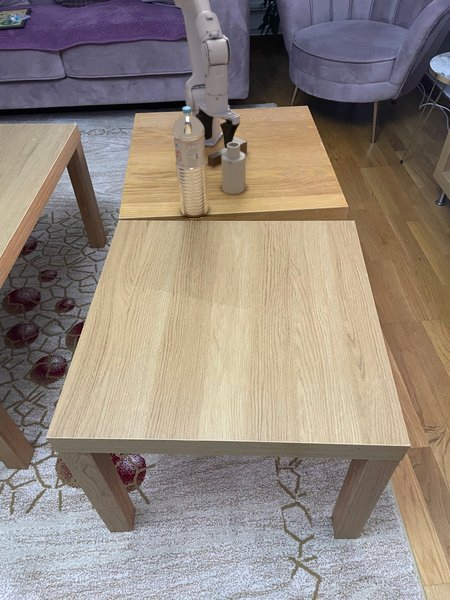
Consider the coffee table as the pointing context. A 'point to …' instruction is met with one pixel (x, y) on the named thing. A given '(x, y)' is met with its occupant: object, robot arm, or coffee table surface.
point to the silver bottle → (233, 169)
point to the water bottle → (191, 164)
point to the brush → (216, 157)
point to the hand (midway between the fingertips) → (218, 142)
